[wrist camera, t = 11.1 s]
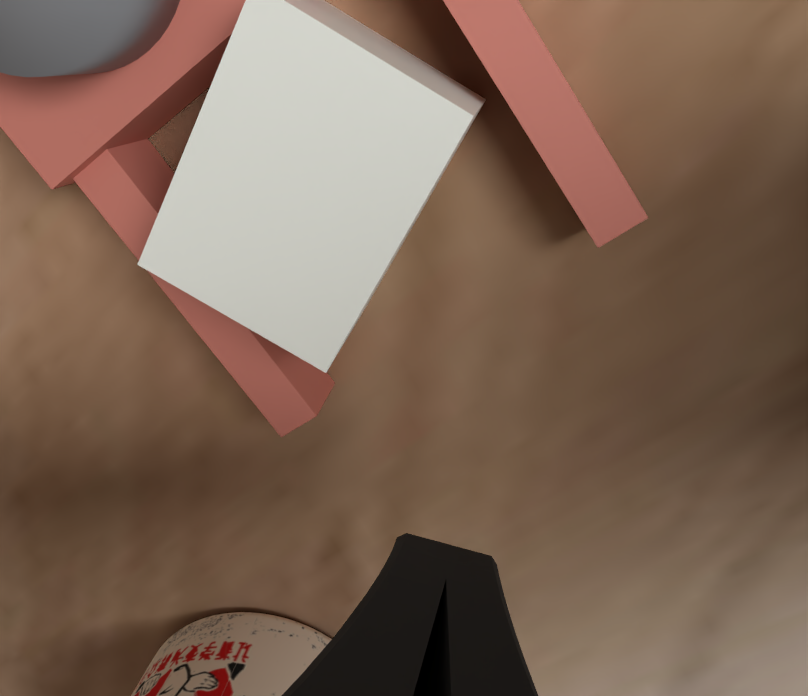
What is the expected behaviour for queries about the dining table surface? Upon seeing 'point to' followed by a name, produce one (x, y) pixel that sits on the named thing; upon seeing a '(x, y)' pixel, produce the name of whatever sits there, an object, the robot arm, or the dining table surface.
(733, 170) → the dining table surface
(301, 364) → the pink u-shaped block
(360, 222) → the white rectangular block
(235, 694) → the teacup with lid
